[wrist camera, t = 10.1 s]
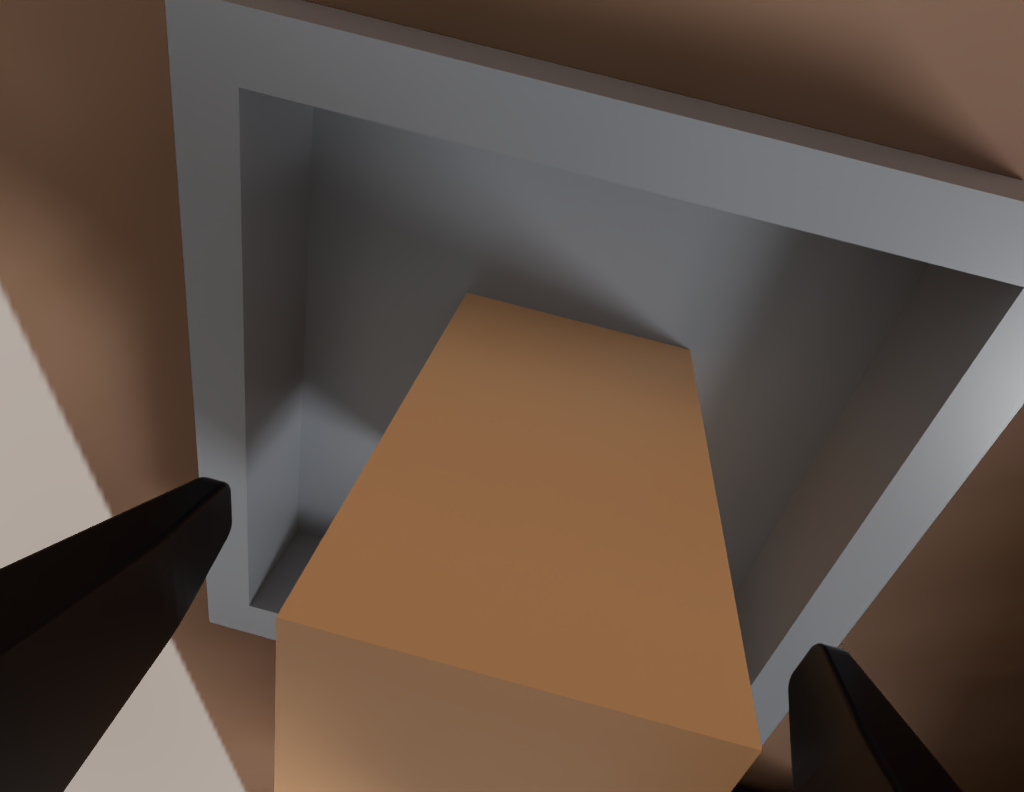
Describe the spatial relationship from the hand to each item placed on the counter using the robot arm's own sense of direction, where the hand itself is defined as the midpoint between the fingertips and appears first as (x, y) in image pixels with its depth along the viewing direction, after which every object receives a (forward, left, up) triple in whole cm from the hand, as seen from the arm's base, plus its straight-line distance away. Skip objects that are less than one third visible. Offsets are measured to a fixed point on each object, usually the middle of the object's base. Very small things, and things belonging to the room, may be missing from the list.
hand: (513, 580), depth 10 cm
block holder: (0, 0, -5) cm, 5 cm away
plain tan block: (0, 0, -5) cm, 5 cm away
